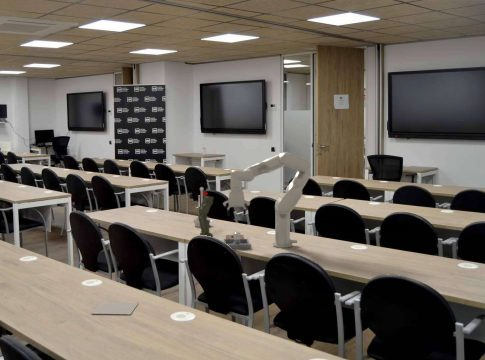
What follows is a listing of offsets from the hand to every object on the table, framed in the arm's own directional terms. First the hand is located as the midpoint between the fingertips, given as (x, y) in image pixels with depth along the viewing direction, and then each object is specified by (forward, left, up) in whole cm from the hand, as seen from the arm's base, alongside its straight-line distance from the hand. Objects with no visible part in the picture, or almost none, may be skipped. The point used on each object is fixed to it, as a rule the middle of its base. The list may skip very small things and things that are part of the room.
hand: (236, 215), depth 336 cm
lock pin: (0, 0, -19) cm, 19 cm away
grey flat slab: (+63, +113, -21) cm, 131 cm away
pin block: (0, -17, -20) cm, 26 cm away
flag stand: (+23, -68, -21) cm, 75 cm away
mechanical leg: (+20, -28, -20) cm, 40 cm away
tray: (0, 0, -20) cm, 20 cm away
